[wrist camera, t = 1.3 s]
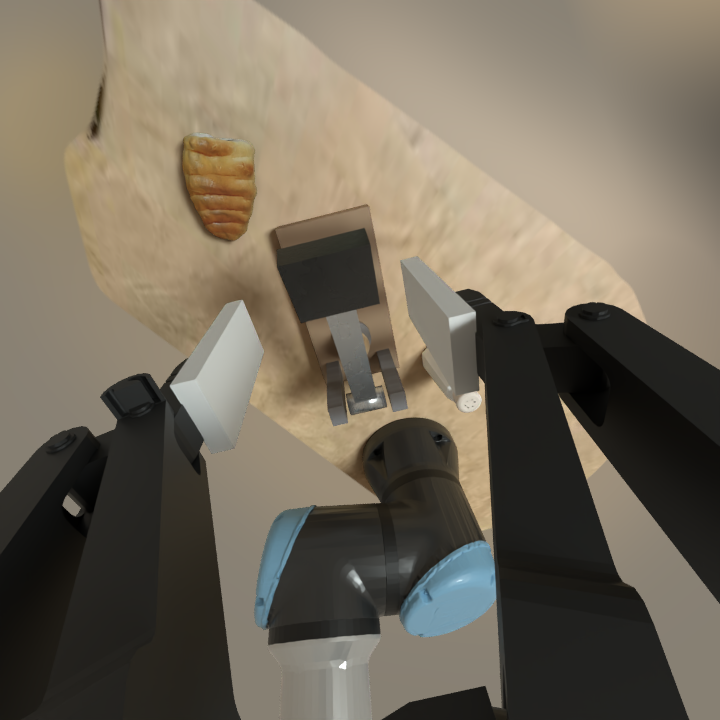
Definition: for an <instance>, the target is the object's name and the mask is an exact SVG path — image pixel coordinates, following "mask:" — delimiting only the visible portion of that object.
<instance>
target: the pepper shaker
mask: <svg viewBox="0 0 720 720" xmlns="http://www.w3.org/2000/svg"><path fill="white" fill-rule="evenodd" d="M422 360H423V367H424V368H425V369H426V371H427V372H428V373H429V375H430V376H431V377H432V379H433V380H434V381H435V382H436V384H437V385H438V386H439V388H440V389H441V390H442V392H443V393H444V394H445V395H446V397H447V398H449V399H450V400H452V401H454V402H455V403H456V405H457V408H458V409H459V410H460V411H461V412H472V411H474V410H476V409H477V408H478V407H479V406H480V404H481V401H482V399H481V396H480V395H479V394H478V393H477V391H475V392H471V393H466V394H462V395H458V396H455V394H454V392H453V391H452V389H451V387H450V385H449V384H448V382H447V380H446V379H445V377H444V375H443V373H442V372H441V370H440V368H439V367H438V365H437V363H436V361H435V360H434V358H433V356H432V355H431V353H430V351H429V349H428V348H426V349H425V350H424V352H423V353H422Z"/></svg>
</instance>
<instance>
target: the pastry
mask: <svg viewBox="0 0 720 720" xmlns="http://www.w3.org/2000/svg"><path fill="white" fill-rule="evenodd" d="M183 143H184V151H183V158H182V162H183V164H182V168H183V171H184V175H185V178H186V186H187V189H188V191H189V194H190V198H191V200H192V201H193V203H194V206H195V209H196V210H197V211H198V213H199V215H200V216H201V218H202V221H203V223H204V226H205V227H206V228H207V229H208V231H209V232H211V233H212V234H214V235H215V236H217V237H219V238H223V239H228V240H232V241H234V240H237V239H238V238H239V237H240V236H241V235H243V234H244V233H245V232H246V231H247V226H248V223H249V219H250V217H251V215H252V211H253V203H254V199H255V197H256V194H257V189H256V186H255V183H254V182H255V175H254V172H255V168H254V154H255V149H254V147H253V145H252V144H251V143H250V142H248V141H245V140H240V139H225V138H222V139H220V138H219V139H218V138H214V137H212V136H211V135H209V134H206V133H192V134H190V135H188V136H186V137H184V140H183Z"/></svg>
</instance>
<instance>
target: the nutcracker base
mask: <svg viewBox="0 0 720 720" xmlns="http://www.w3.org/2000/svg"><path fill="white" fill-rule="evenodd" d="M362 228H365V230H366V233H367V236H368V239H369V242H370V245H371V251H372V258H373V264H374V270H375V276H376V282H377V288H378V294H379V301H380V304H377V305H373V306H369V307H365V308H361V309H357V310H356V311H357V315H358V319H359V323H360V328H361V332H362V336H363V340H364V344H365V348H366V353H367V357H368V361H369V365H370V369H371V374H374V373H378V372H382V375H383V379H384V382H385V386H386V389H387V393H388V396H389V399H390V403H391V406H392V410H393V412H396V411H400V410H404V409H408V407H407V402H406V396H405V391H404V388H403V385H402V383H401V380H400V377H399V375H398V372H397V369H396V368H399V362H398V357H397V352H396V346H395V341H394V336H393V330H392V325H391V320H390V314H389V309H388V304H387V298H386V293H385V288H384V282H383V277H382V272H381V266H380V261H379V256H378V250H377V245H376V240H375V234H374V229H373V224H372V218H371V213H370V208H369V206H368V205H367V204H366V205H362V206H358V207H354V208H351V209H347V210H343V211H339V212H335V213H331V214H327V215H323V216H319V217H315V218H311V219H307V220H303V221H299V222H295V223H291V224H287V225H283V226H279V227H277V228H276V229H275V231H276V234H277V237H278V240H279V243H280V246H281V249H282V248H286V247H290V246H294V245H298V244H302V243H306V242H310V241H314V240H318V239H322V238H326V237H330V236H334V235H338V234H342V233H346V232H350V231H354V230H358V229H362ZM306 325H307V328H308V331H309V334H310V338H311V341H312V344H313V347H314V350H315V353H316V356H317V359H318V362H319V365H320V368H321V371H322V374H323V377H324V380H325V383H326V385H327V406H328V412H329V415H330V418H331V421H332V424H333V426H337V425H341V424H345V423H348V419H347V410H346V400H345V391H344V381H345V380H347V378H346V375H345V372H344V369H343V366H342V363H341V360H340V357H339V354H338V351H337V348H336V345H335V342H334V339H333V336H332V334H331V331H330V328H329V325H328V322H327V319H326V317H324V318H320V319H316V320H312V321H307V322H306Z"/></svg>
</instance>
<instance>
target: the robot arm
mask: <svg viewBox="0 0 720 720" xmlns="http://www.w3.org/2000/svg"><path fill="white" fill-rule="evenodd" d="M400 261H401V268H402V274H403V281H404V287H405V293H406V300H407V306H408V313H409V317H410V319H411V320H412V322H413V324H414V326H415V327H416V329H417V331H418V332H419V334H420V336H421V337H422V339H423V341H424V343H425V344H426V346H427V348H428V349H429V351H430V353H431V355H432V356H433V358H434V360H435V361H436V363H437V365H438V367H439V368H440V370H441V372H442V373H443V375H444V377H445V379H446V380H447V382H448V384H449V385H450V387H451V389H452V391H453V392H454V394H455V396H458V395H462V394H466V393H471V392H475V391H479V376H480V378H481V379H482V380H483V382H484V383H485V403H486V419H487V437H488V455H489V473H490V491H491V509H492V527H493V545H494V560H493V557H492V554H491V549H490V546H489V544H488V543H487V542H486V540H485V538H484V536H483V533H482V531H481V529H480V527H479V524H478V522H477V520H476V518H475V515H474V513H473V511H472V509H471V507H470V504H469V502H468V500H467V498H466V495H465V493H464V491H463V489H462V487H461V484H460V482H459V467H458V451H457V447H456V445H455V442H454V440H453V438H452V436H451V434H450V433H449V431H448V430H447V429H446V428H445V427H444V426H442V425H441V424H439V423H437V422H435V421H432V420H429V419H424V418H408V419H402V420H398V421H395V422H392V423H390V424H388V425H386V426H384V427H382V428H381V429H379V430H378V431H377V432H376V433H375V434H374V435H373V436H372V437H371V438H370V439H369V440H368V442H367V444H366V445H365V448H364V451H363V457H362V459H363V467H364V472H365V476H366V478H367V480H368V482H369V483H370V485H371V487H372V489H373V490H374V492H375V494H376V495H377V497H378V499H379V500H380V502H381V503H376V504H375V503H374V504H356V505H339V506H321V507H317V506H316V505H312V506H310V507H306V508H298V509H289V510H285V511H283V512H282V513H280V514H279V515H278V516H277V517H276V519H275V520H274V522H273V524H272V526H271V528H270V531H269V533H268V537H267V539H266V543H265V546H264V551H263V554H262V559H261V564H260V569H259V574H258V580H257V588H256V595H257V596H256V603H255V609H254V611H255V612H254V614H255V622H256V624H257V625H258V627H261V628H262V629H264V630H266V629H269V638H268V651H269V652H270V653H271V655H272V656H273V657H274V659H275V660H276V661H277V663H278V664H279V666H280V668H281V671H282V679H281V698H280V716H279V720H372V710H371V695H370V681H369V668H368V661H369V659H370V656H371V654H372V652H373V650H374V649H375V647H376V646H377V644H378V642H379V641H380V639H381V635H380V623H379V617H381V616H390V615H399V617H400V621H401V623H402V624H403V626H404V628H405V630H406V631H407V632H408V633H410V634H412V635H415V636H416V635H419V636H420V637H432V636H437V635H442V634H446V633H449V632H452V631H454V630H457V629H459V628H461V627H464V626H465V625H467V624H469V623H471V622H473V621H474V620H476V619H477V618H479V617H480V616H481V615H483V614H484V613H485V612H486V611H487V610H488V609H489V608H490V607H491V606H492V604H493V603H494V601H495V599H496V600H497V617H498V635H499V654H500V655H499V656H500V679H501V696H502V697H501V698H502V708H497V707H492V706H491V702H490V699H489V696H488V693H487V690H486V687H485V686H483V687H478V688H474V689H469V690H464V691H460V692H455V693H451V694H446V695H442V696H436V697H432V698H427V699H423V700H418V701H413V702H409V703H407V704H406V705H405V706H403V707H401V708H400V709H398V710H396V711H395V712H393V713H392V714H390V715H388V716H387V717H385V718H384V719H382V720H689V718H688V716H687V713H686V711H685V707H684V705H683V702H682V699H681V697H680V694H679V691H678V689H677V686H676V683H675V680H674V678H673V675H672V672H671V669H670V667H669V664H668V661H667V659H666V656H665V653H664V650H663V648H662V645H661V642H660V640H659V637H658V634H657V631H656V629H655V626H654V624H653V622H652V619H651V617H650V615H649V612H648V610H647V608H646V605H645V603H644V601H643V600H642V598H641V597H640V595H639V594H638V592H637V591H636V589H635V588H634V587H631V586H630V585H628V584H625V583H624V582H622V580H621V578H620V577H619V575H618V573H617V571H616V568H615V565H614V562H613V559H612V556H611V554H610V550H609V547H608V544H607V541H606V538H605V536H604V532H603V529H602V526H601V523H600V520H599V517H598V514H597V511H596V508H595V505H594V502H593V498H592V496H591V493H590V489H589V486H588V483H587V480H586V477H585V474H584V471H583V468H582V465H581V462H580V459H579V456H578V453H577V450H576V447H575V444H574V441H573V438H572V435H571V432H570V429H569V426H568V422H567V419H566V416H565V413H564V410H563V407H562V404H561V401H560V398H561V399H562V400H563V402H564V403H565V404H566V406H567V407H568V408H569V410H570V411H571V412H572V413H573V415H574V416H575V417H576V419H577V420H578V421H579V422H580V424H581V425H582V426H583V428H584V429H585V430H586V431H587V433H588V434H589V435H590V437H591V438H592V439H593V441H594V442H595V443H596V444H597V446H598V447H599V448H600V450H601V451H602V452H603V453H604V455H605V456H606V457H607V459H608V460H609V461H610V462H611V464H612V465H613V466H614V468H615V469H616V470H617V472H618V473H619V474H620V475H621V477H622V478H623V479H624V481H625V482H626V483H627V485H628V486H629V487H630V488H631V490H632V491H633V492H634V494H635V495H636V496H637V497H638V499H639V500H640V501H641V503H642V504H643V505H644V506H645V508H646V509H647V510H648V512H649V513H650V514H651V515H652V517H653V518H654V519H655V521H656V522H657V523H658V525H659V526H660V527H661V528H662V530H663V531H664V532H665V534H666V535H667V536H668V538H669V539H670V540H671V541H672V543H673V544H674V545H675V547H676V548H677V549H678V550H679V552H680V553H681V554H682V556H683V557H684V558H685V559H686V561H687V562H688V563H689V565H690V566H691V567H692V569H693V570H694V571H695V572H696V574H697V575H698V576H699V578H700V579H701V580H702V581H703V583H704V584H705V585H706V587H707V588H708V589H709V591H710V592H711V593H712V594H713V595H714V597H715V598H716V599H717V601H718V602H719V603H720V370H719V369H717V368H716V367H714V366H712V365H711V364H709V363H708V362H706V361H704V360H703V359H701V358H699V357H698V356H696V355H695V354H693V353H691V352H690V351H688V350H687V349H685V348H683V347H682V346H680V345H679V344H677V343H675V342H674V341H672V340H671V339H669V338H667V337H666V336H664V335H663V334H661V333H659V332H658V331H656V330H654V329H653V328H651V327H650V326H648V325H647V324H645V323H643V322H642V321H640V320H639V319H637V318H635V317H634V316H632V315H631V314H629V313H627V312H626V311H624V310H623V309H621V308H618V307H616V306H613V305H608V304H605V303H599V302H597V303H596V302H590V303H587V304H580V305H576V306H572V307H571V308H569V309H568V310H567V311H566V313H565V319H564V323H553V324H535V322H534V319H533V318H532V317H531V316H530V315H528V314H526V313H523V312H517V311H502V310H501V309H500V308H499V307H497V306H496V305H495V304H494V303H491V301H490V300H489V299H487V298H486V297H485V296H484V295H482V294H481V293H480V292H478V291H474V290H471V289H466V290H462V291H457V292H454V291H453V290H452V289H451V288H450V287H449V286H448V285H447V284H446V283H445V282H444V281H443V280H442V279H441V278H440V277H439V276H437V275H436V274H435V273H434V272H433V271H432V270H431V269H430V268H429V267H428V266H427V265H426V264H425V263H424V262H423V261H422V260H421V259H419V258H418V257H417V256H416V257H412V258H408V259H404V260H400ZM263 354H264V350H263V347H262V345H261V343H260V340H259V338H258V335H257V333H256V331H255V328H254V326H253V323H252V321H251V319H250V316H249V314H248V311H247V309H246V307H245V304H244V302H243V300H238V301H234V302H230V303H226V304H225V306H224V307H223V309H222V310H221V312H220V313H219V315H218V316H217V317H216V319H215V320H214V322H213V323H212V325H211V326H210V328H209V329H208V331H207V332H206V333H205V335H204V336H203V338H202V339H201V341H200V342H199V344H198V345H197V347H196V348H195V349H194V351H193V352H192V354H191V355H190V357H189V358H187V359H185V360H184V361H183V362H182V363H181V364H179V365H178V366H177V367H176V368H175V369H174V371H173V372H172V373H171V376H170V377H169V378H168V379H167V380H166V383H164V384H163V386H162V387H161V389H159V388H158V386H157V385H156V383H155V381H154V380H153V378H152V377H151V375H150V374H146V373H143V374H137V375H134V376H131V377H128V378H126V379H123V380H121V381H119V382H117V383H116V384H114V385H112V386H111V387H109V388H108V389H107V390H106V391H105V392H104V393H103V394H102V395H101V397H100V398H101V399H102V400H103V402H104V403H105V404H106V405H107V407H108V408H109V409H110V411H111V412H112V413H113V415H114V416H115V417H116V419H117V424H116V428H115V429H114V430H112V431H109V432H107V433H104V434H102V435H99V436H97V437H95V436H94V435H93V434H92V433H91V432H90V430H89V429H88V428H87V427H83V426H81V427H76V428H72V429H70V430H67V431H62V432H60V433H58V435H57V434H56V435H54V436H53V437H51V438H50V440H49V441H47V442H46V443H44V444H43V445H42V446H41V447H40V448H39V449H38V450H37V451H36V452H35V453H34V454H33V455H32V457H31V458H30V459H29V460H28V461H27V462H26V463H25V465H24V466H23V467H22V468H21V469H20V470H19V471H18V473H17V474H16V475H15V476H14V478H12V480H11V481H10V482H9V483H8V484H7V485H6V487H5V488H4V489H3V490H2V491H1V492H0V720H241V719H240V716H239V714H238V711H237V708H236V704H235V700H234V695H233V687H232V679H231V670H230V662H229V653H228V645H227V637H226V629H225V620H224V612H223V604H222V595H221V587H220V578H219V570H218V562H217V553H216V545H215V536H214V528H213V520H212V511H211V503H210V495H209V487H208V478H207V469H206V461H205V460H204V458H203V456H202V455H201V453H200V451H199V450H200V448H201V446H202V443H203V441H204V442H205V444H206V445H207V447H208V449H209V450H210V452H211V453H212V454H213V453H218V452H222V451H226V450H230V449H234V448H235V445H236V442H237V439H238V436H239V432H240V429H241V426H242V422H243V419H244V416H245V413H246V409H247V406H248V403H249V400H250V396H251V393H252V390H253V386H254V383H255V380H256V377H257V373H258V370H259V367H260V364H261V360H262V357H263ZM558 394H559V395H558ZM559 397H560V398H559ZM66 495H68V496H69V497H70V498H71V499H72V500H73V501H74V502H75V503H76V504H77V505H78V506H80V507H81V509H80V511H79V513H78V514H77V515H76V516H73V515H71V514H70V513H69V512H68V511H67V510H66V509H65V508H64V507H63V506H62V505H63V501H64V499H65V497H66Z"/></svg>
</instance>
